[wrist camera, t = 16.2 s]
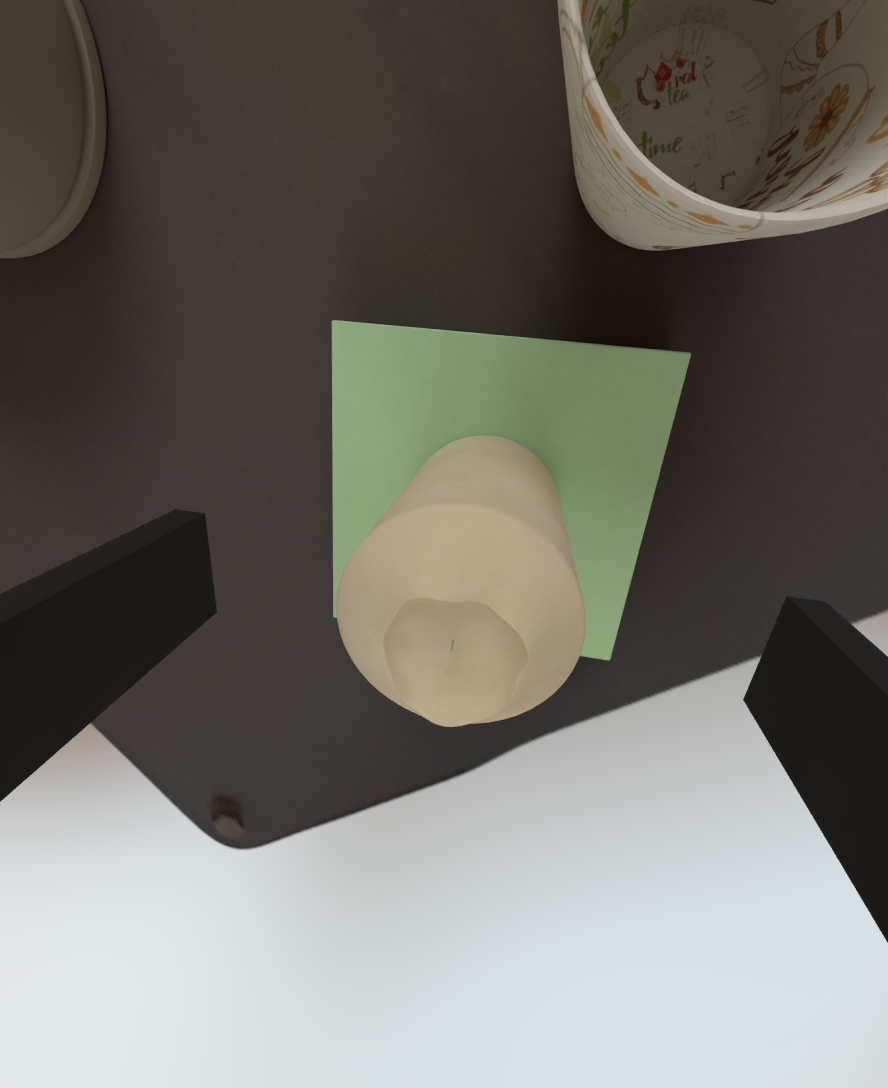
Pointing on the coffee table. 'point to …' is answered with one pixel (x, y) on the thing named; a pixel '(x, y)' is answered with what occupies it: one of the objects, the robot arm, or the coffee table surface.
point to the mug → (726, 116)
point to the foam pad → (508, 435)
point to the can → (47, 123)
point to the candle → (466, 588)
